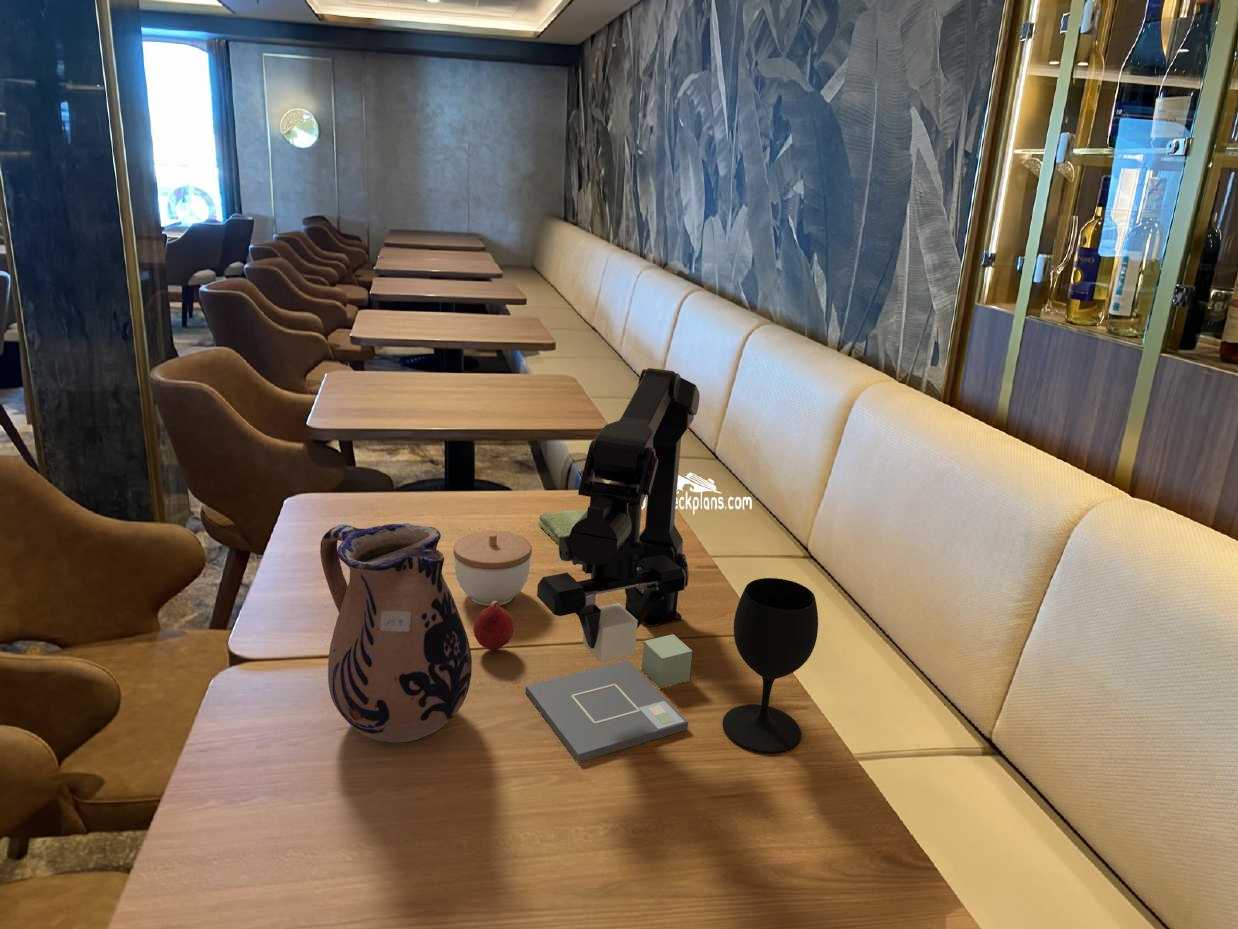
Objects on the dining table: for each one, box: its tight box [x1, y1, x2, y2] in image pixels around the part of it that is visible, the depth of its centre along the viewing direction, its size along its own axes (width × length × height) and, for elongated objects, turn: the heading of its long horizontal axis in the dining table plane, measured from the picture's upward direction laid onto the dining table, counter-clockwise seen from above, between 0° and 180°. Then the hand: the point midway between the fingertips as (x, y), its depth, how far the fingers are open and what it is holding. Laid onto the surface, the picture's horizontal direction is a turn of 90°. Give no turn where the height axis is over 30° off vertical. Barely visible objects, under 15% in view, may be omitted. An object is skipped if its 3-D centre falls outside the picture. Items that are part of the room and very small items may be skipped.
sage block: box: [641, 634, 693, 689], centre depth 125 cm, size 5×5×5 cm
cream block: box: [582, 602, 638, 664], centre depth 113 cm, size 5×5×5 cm
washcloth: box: [538, 509, 587, 545], centre depth 171 cm, size 13×18×3 cm
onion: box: [473, 601, 515, 652], centre depth 128 cm, size 6×6×8 cm
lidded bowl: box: [453, 530, 533, 607], centre depth 144 cm, size 13×13×11 cm
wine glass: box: [722, 577, 819, 755], centre depth 112 cm, size 10×10×20 cm
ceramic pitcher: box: [319, 522, 473, 743], centre depth 109 cm, size 18×21×25 cm
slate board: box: [525, 660, 689, 763], centre depth 117 cm, size 16×16×1 cm
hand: (609, 642), depth 114 cm, fingers closed on cream block, 5 cm apart
